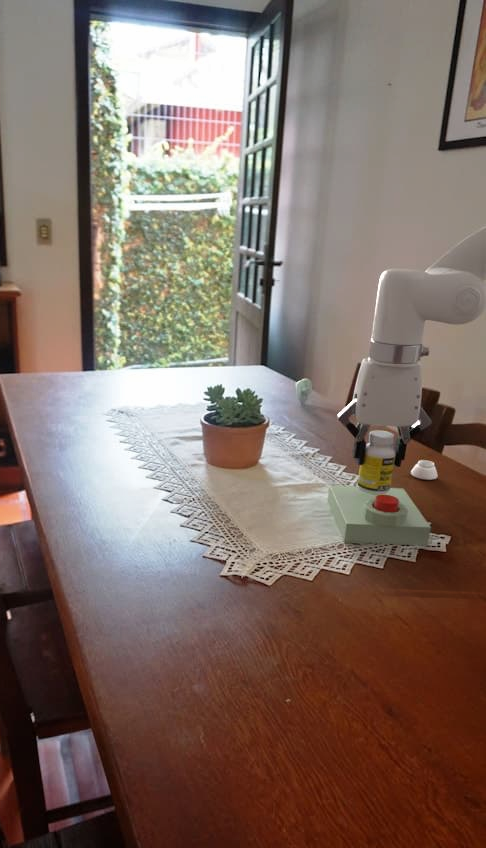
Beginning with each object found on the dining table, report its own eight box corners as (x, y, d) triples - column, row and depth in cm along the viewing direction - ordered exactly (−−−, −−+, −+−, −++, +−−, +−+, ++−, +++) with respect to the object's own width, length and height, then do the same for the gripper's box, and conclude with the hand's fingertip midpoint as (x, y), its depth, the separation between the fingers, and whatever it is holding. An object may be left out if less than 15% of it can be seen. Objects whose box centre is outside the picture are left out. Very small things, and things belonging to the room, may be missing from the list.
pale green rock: (290, 399, 186) (292, 375, 184) (304, 399, 187) (307, 375, 184) (301, 407, 179) (303, 382, 176) (315, 407, 180) (318, 382, 177)
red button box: (400, 505, 121) (405, 478, 119) (428, 546, 106) (433, 517, 104) (327, 502, 120) (330, 475, 118) (344, 543, 105) (348, 513, 103)
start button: (394, 505, 108) (395, 494, 108) (400, 514, 105) (401, 503, 104) (371, 504, 108) (373, 494, 108) (376, 513, 105) (378, 503, 104)
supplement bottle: (379, 498, 111) (388, 441, 107) (350, 489, 114) (358, 433, 111) (395, 490, 115) (404, 434, 111) (367, 481, 118) (375, 426, 114)
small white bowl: (411, 479, 133) (438, 482, 132) (414, 465, 131) (441, 468, 131) (409, 471, 137) (435, 473, 136) (412, 457, 136) (438, 459, 135)
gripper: (441, 351, 109) (422, 458, 116) (334, 346, 109) (322, 453, 116) (457, 360, 102) (436, 473, 109) (343, 355, 102) (329, 468, 109)
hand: (377, 462), depth 113 cm, fingers closed on supplement bottle, 5 cm apart
